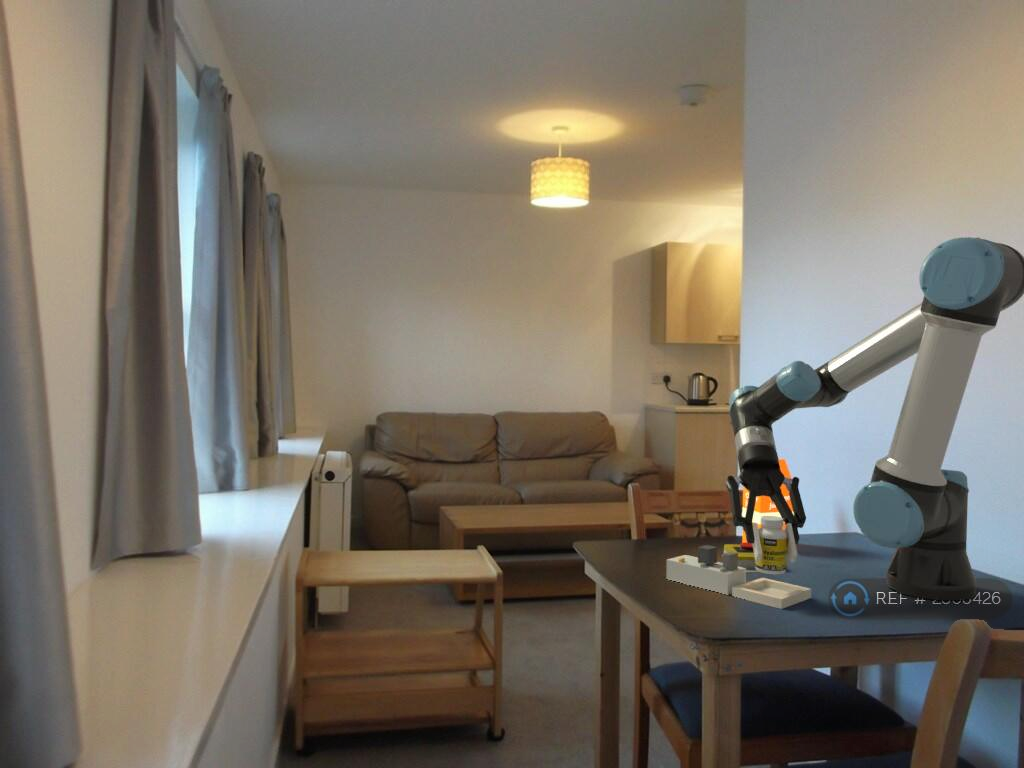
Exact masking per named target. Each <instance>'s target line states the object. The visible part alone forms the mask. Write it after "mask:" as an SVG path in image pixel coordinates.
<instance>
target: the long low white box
mask: <svg viewBox="0 0 1024 768" xmlns="http://www.w3.org/2000/svg"><path fill="white" fill-rule="evenodd" d="M722 555H723V557H722V562H720V561H717V563H714V564H710V565H706V563H698V556H693V555H689V554H688V555H687V554H683V555H679V556H674V557H672V558H668V559H666V579H668V580H667V581H669V580H672V581H671V582H673V581H676V582H675V583H677V582H680V583H679V584H681V583H683V584H682V585H685V584H686V586H689V585H691V586H690V587H693V586H695V587H694V588H697V587H699V588H698V589H701V588H703V589H702V590H705V589H707V590H706V591H709V590H711V591H710V592H712V591H715V592H714V593H716V592H719V593H718V594H720V593H722V595H724V594H726V595H725V596H730V595H732V587H735V586H738V585H741V584H744V583H747V573H746V568H743V567H738V553H736V552H728V553H724V552H723V553H722ZM729 594H730V595H729Z"/></svg>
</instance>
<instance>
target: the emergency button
mask: <svg viewBox="0 0 1024 768" xmlns="http://www.w3.org/2000/svg"><path fill="white" fill-rule="evenodd" d="M728 552H736V553H738V567H743V568H746V574H748V573H749V574H750V573H751V574H753V573H754V574H757V573H758V574H762V573H761V572H759V571H757V570H756V568H755V556H754V550H753V544H752V543H748V542H744V543H742V542H740V543H739V544H732V543H731V544H729V543H728V544H724V546H723V554H724V553H728ZM723 554H721V557H722V558H723Z"/></svg>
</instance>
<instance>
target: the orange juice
mask: <svg viewBox="0 0 1024 768" xmlns="http://www.w3.org/2000/svg"><path fill="white" fill-rule="evenodd" d="M778 460H779V464H780V470H781V472H782V473H783V474H784V476H785V477H786V478H790V479H793V477H792V475H791V472H790V470H789V467H788V463H787V461H786V458H785V459H784V458H780V459H779V458H778ZM780 488H781V491H782V494H783V496H784V498H785V500H786V502H787V504H788V505H789V507H790V509H791V511H792V513H793V515H794V512H793V509H792V505H791V501H790V497H789V491H788V490H787V488H786V486H785V485H784V484H782V485H781V487H780ZM748 497H749V491H748V490H747V489H746V488H745V487H744V486H743V485H742V517H745V515H746V510H747V504H748ZM762 516H777V517H781V515H780V513H779V511H778V510H777V508H776V506H775V504H774V502H772V501H771V499H770V497H767V496H756V502H755V508H754V514H753V520H752V524H753V523H757V525H758V529H759V528H762V526H761V523H760V522H761V517H762ZM781 518H782V517H781ZM785 527H786V525H785V523H784V525H783V527H782V530H785ZM744 542H747V541H746V535H745V531H744V530H743V529H742V542H741V543H744Z"/></svg>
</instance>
